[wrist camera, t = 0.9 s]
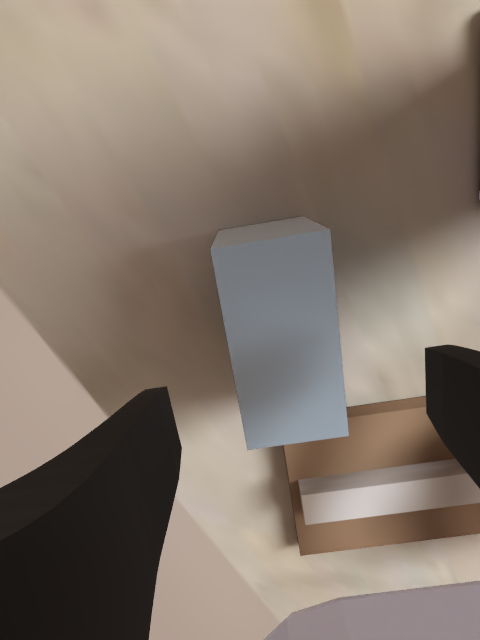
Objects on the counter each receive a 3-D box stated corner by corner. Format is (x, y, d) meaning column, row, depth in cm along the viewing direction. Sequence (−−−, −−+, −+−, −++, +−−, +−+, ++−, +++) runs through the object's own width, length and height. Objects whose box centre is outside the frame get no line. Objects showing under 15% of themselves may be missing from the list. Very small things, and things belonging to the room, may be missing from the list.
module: (302, 216, 19) (330, 229, 13) (321, 379, 22) (350, 448, 16) (218, 230, 19) (209, 248, 13) (247, 390, 22) (249, 462, 16)
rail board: (596, 371, 21) (756, 455, 15) (579, 506, 24) (707, 626, 18) (279, 417, 22) (296, 515, 16) (298, 541, 25) (319, 670, 18)
